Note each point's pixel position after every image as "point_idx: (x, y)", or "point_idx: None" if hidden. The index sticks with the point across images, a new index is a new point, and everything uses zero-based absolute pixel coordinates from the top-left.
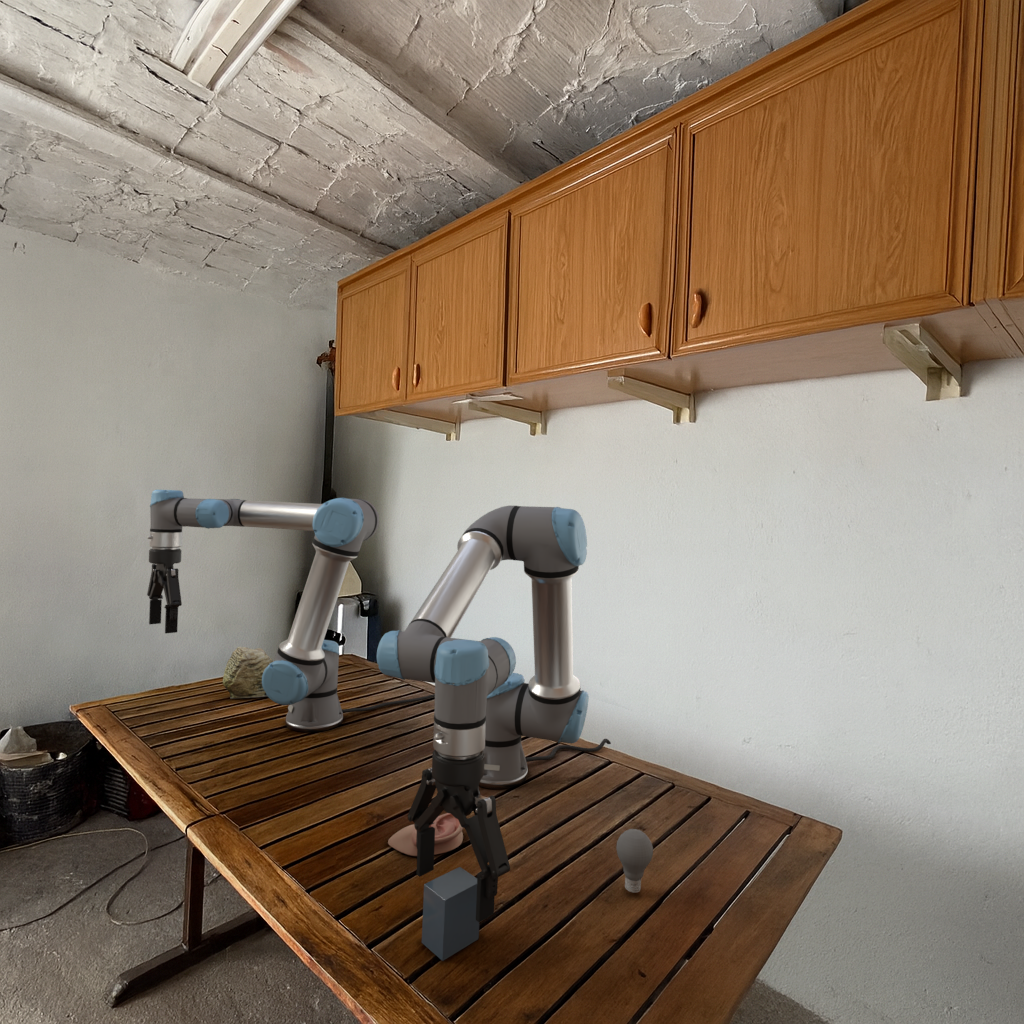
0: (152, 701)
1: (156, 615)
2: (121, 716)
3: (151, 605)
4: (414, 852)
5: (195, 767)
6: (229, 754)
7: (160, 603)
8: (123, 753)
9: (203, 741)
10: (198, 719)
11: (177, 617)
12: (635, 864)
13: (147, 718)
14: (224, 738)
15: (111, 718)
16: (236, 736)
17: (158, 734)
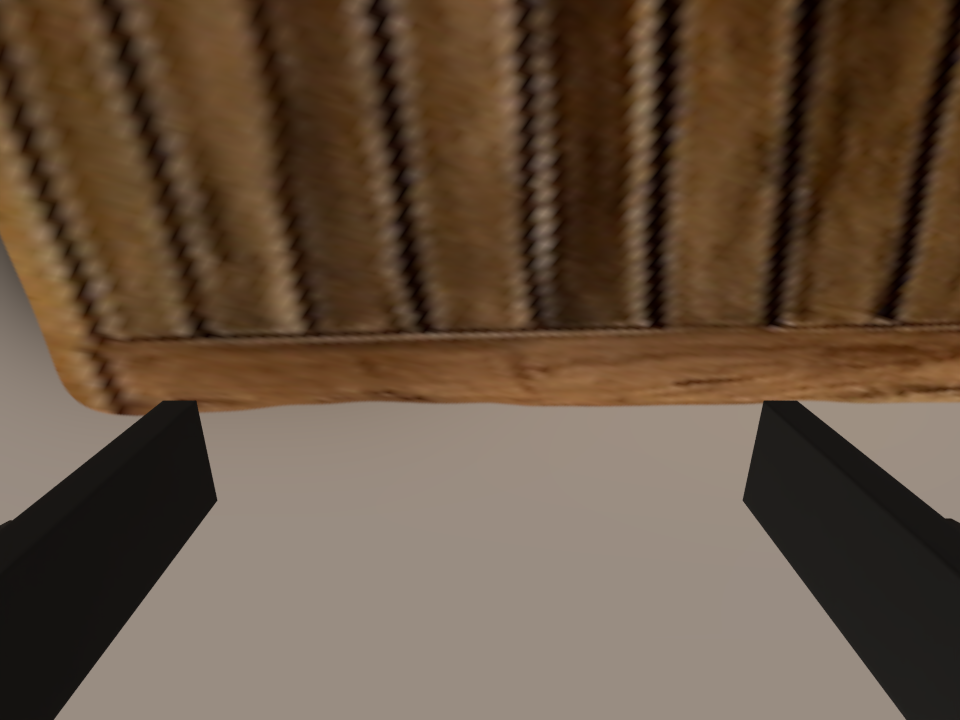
0: (122, 179)
1: (148, 504)
2: (273, 324)
3: (63, 688)
4: None
5: (921, 268)
6: (921, 136)
7: (2, 597)
8: (644, 399)
9: (730, 167)
10: (474, 93)
11: (923, 507)
12: None
13: (346, 257)
14: (761, 87)
15: (280, 355)
16: (779, 34)
17: (548, 274)
